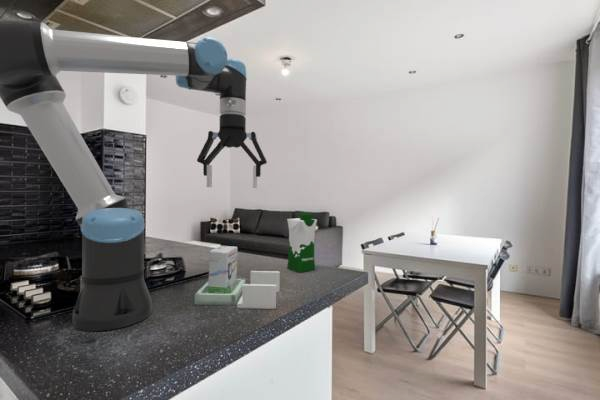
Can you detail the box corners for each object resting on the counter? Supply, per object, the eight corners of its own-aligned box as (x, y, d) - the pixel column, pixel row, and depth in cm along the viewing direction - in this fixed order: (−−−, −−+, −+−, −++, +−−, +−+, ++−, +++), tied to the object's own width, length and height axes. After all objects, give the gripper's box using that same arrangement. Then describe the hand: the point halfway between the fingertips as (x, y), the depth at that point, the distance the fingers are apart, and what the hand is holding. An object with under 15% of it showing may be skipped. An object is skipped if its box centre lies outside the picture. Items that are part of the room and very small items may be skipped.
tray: (194, 304, 79) (194, 294, 78) (210, 286, 93) (210, 278, 92) (235, 305, 78) (235, 295, 78) (245, 287, 92) (245, 278, 92)
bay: (237, 308, 77) (237, 285, 77) (246, 290, 90) (247, 270, 90) (275, 308, 77) (275, 286, 77) (279, 290, 90) (279, 271, 90)
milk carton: (299, 273, 108) (300, 214, 107) (283, 268, 115) (284, 212, 114) (318, 270, 114) (319, 213, 113) (302, 265, 121) (303, 212, 120)
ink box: (219, 286, 90) (220, 245, 90) (237, 287, 90) (238, 245, 89) (207, 296, 82) (207, 250, 81) (226, 298, 81) (227, 251, 81)
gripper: (186, 111, 91) (185, 186, 92) (273, 113, 91) (272, 188, 92) (194, 117, 98) (194, 186, 99) (276, 119, 98) (274, 188, 99)
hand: (232, 187), depth 95 cm, fingers open, 13 cm apart
